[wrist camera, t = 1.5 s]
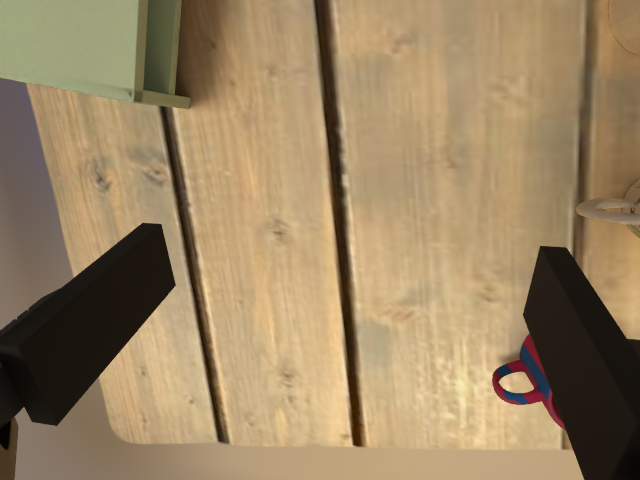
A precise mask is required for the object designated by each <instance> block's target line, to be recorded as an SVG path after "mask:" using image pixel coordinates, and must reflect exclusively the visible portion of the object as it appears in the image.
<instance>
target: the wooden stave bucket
mask: <svg viewBox="0 0 640 480" xmlns="http://www.w3.org/2000/svg"><path fill="white" fill-rule="evenodd" d="M608 17H609V23H610V27H611V30H612V32H613V34H614V36H615V38H616V39H617V41H618V42H619V43H620V44H621V45H622V46H623V47H624V48H625V49H626V50H628V51H629V52H631V53H633V54H635V55H638V56H640V0H609V7H608Z"/></svg>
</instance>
